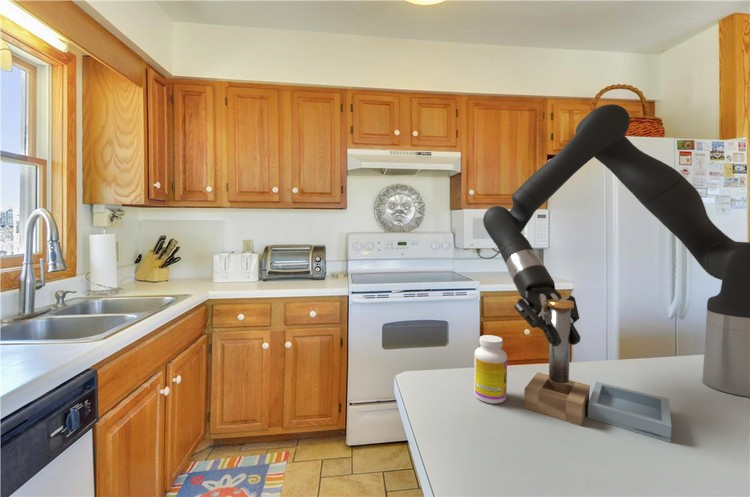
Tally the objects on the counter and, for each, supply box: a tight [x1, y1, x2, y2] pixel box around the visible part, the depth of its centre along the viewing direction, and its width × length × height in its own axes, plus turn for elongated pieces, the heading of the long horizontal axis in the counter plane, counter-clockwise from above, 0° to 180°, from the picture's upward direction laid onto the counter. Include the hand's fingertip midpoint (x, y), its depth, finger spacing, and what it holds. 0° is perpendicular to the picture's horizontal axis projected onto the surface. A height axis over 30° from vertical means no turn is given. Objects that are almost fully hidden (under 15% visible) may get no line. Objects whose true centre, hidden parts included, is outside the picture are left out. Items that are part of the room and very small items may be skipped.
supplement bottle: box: [473, 334, 508, 405], centre depth 72 cm, size 7×7×13 cm
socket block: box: [523, 372, 591, 427], centre depth 69 cm, size 10×10×4 cm
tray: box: [587, 381, 672, 444], centre depth 66 cm, size 12×12×3 cm
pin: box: [548, 299, 574, 383], centre depth 68 cm, size 5×5×16 cm
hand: (566, 343), depth 66 cm, fingers closed on pin, 3 cm apart
